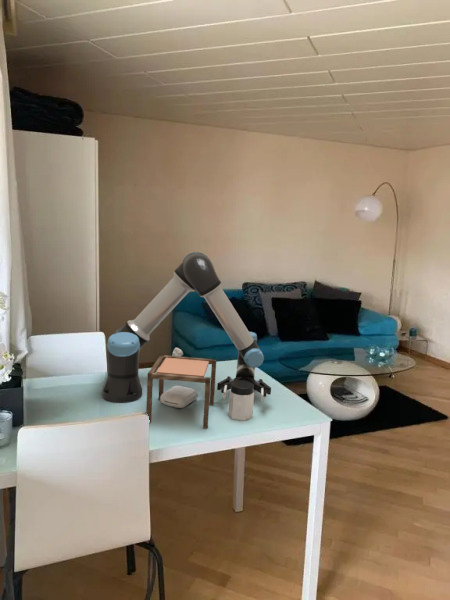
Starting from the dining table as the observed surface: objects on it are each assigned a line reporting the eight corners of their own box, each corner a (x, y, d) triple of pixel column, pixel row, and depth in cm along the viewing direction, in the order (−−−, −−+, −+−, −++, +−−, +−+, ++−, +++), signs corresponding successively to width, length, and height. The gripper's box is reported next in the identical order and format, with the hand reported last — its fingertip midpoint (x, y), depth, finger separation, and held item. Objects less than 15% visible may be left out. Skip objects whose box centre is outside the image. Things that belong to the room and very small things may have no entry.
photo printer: (174, 394, 189) (157, 405, 178) (174, 383, 189) (157, 394, 178) (197, 399, 185) (181, 411, 174) (198, 389, 184) (181, 400, 173)
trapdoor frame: (146, 422, 164) (147, 373, 160) (159, 398, 184) (160, 354, 181) (207, 428, 162) (210, 379, 159) (213, 403, 183) (216, 359, 179)
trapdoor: (156, 374, 163) (156, 371, 163) (165, 360, 178) (166, 357, 178) (203, 378, 162) (203, 375, 161) (208, 363, 177) (208, 361, 177)
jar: (225, 418, 171) (227, 386, 168) (230, 409, 179) (232, 378, 176) (250, 422, 169) (252, 390, 167) (254, 413, 177) (256, 382, 174)
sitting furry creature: (160, 372, 213) (161, 346, 211) (176, 369, 218) (178, 343, 216) (171, 378, 206) (172, 352, 204) (188, 375, 211) (189, 349, 209)
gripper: (275, 387, 194) (277, 409, 173) (213, 382, 196) (208, 403, 175) (276, 370, 193) (278, 389, 172) (214, 365, 194) (209, 384, 173)
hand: (243, 396), depth 173 cm, fingers open, 13 cm apart
